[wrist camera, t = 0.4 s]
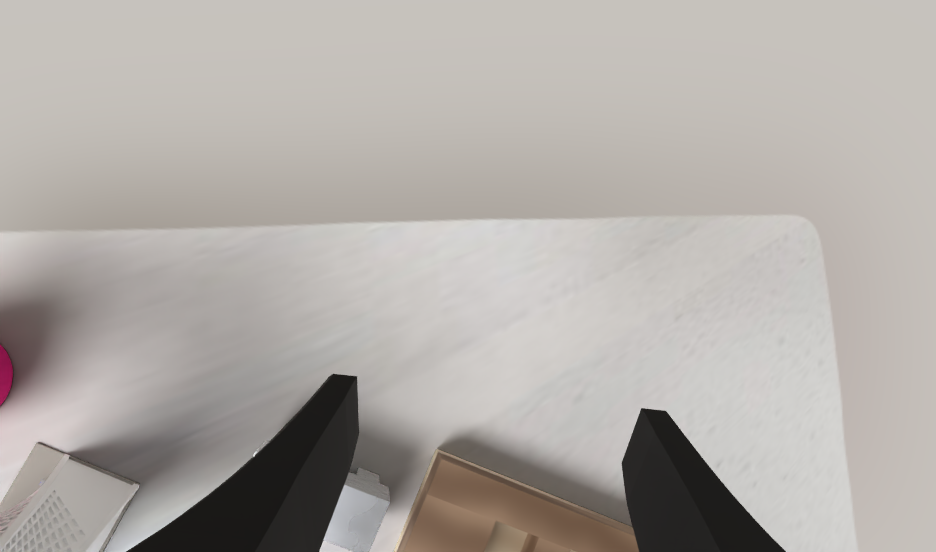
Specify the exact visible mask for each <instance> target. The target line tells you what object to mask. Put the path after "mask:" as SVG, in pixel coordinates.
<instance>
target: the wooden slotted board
mask: <svg viewBox="0 0 936 552" xmlns="http://www.w3.org/2000/svg"><path fill="white" fill-rule="evenodd" d="M394 552H639V549H638V545H637V542H636V538H635V534H634V530H633V527H631V526H628V525H626V524H623V523H621V522H618V521H616V520H613V519H611V518H608V517H606V516H603V515H601V514H599V513H596V512H594V511H591V510H589V509H586V508H584V507H581V506H579V505H576V504H574V503H571V502H569V501H566V500H564V499H561V498H559V497H556V496H554V495H551V494H549V493H546V492H544V491H541V490H539V489H536V488H534V487H531V486H529V485H526V484H524V483H521V482H519V481H516V480H514V479H511V478H509V477H506V476H504V475H501V474H499V473H496V472H494V471H491V470H489V469H486V468H484V467H481V466H479V465H476V464H474V463H471V462H469V461H466V460H464V459H461V458H459V457H456V456H454V455H451V454H449V453H446V452H444V451H441V450H439V449H436V451H435V453H434V456H433V458H432V460H431V463H430V465H429V468H428V470H427V472H426V475H425V477H424V480H423V482H422V484H421V487H420V489H419V492H418V494H417V496H416V499H415V501H414V504H413V506H412V508H411V511H410V513H409V516H408V518H407V520H406V523H405V525H404V528H403V530H402V532H401V535H400V537H399V540H398V542H397V544H396V547H395V549H394Z"/></svg>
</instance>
